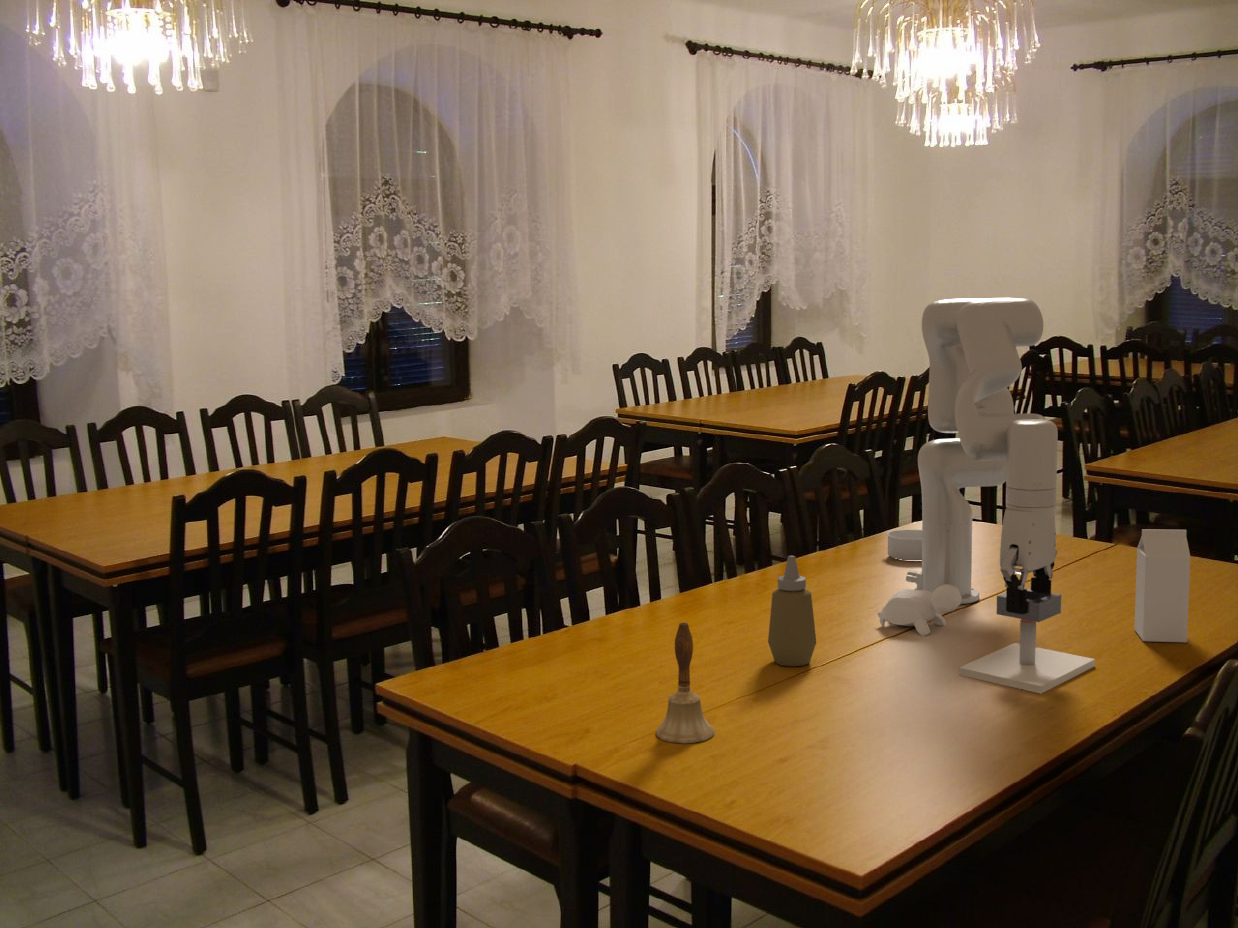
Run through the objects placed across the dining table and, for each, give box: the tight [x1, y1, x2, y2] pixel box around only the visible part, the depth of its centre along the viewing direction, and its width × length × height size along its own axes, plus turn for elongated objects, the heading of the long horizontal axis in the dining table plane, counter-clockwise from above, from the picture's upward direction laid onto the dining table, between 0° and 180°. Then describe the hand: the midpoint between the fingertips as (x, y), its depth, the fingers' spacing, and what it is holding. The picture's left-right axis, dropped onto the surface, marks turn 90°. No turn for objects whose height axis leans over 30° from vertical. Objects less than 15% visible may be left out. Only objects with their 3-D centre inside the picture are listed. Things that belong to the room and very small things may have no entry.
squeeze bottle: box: [767, 555, 817, 667], centre depth 205 cm, size 8×8×18 cm
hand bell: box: [655, 622, 716, 744], centre depth 174 cm, size 8×8×16 cm
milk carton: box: [1134, 528, 1191, 643], centre depth 213 cm, size 7×7×19 cm
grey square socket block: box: [996, 587, 1062, 623], centre depth 197 cm, size 7×7×3 cm
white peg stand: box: [958, 619, 1096, 695], centre depth 198 cm, size 14×18×10 cm
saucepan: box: [886, 528, 922, 560], centre depth 276 cm, size 12×20×6 cm, turn 43°
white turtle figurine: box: [877, 584, 961, 636], centre depth 223 cm, size 9×8×15 cm
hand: (1028, 607), depth 197 cm, fingers closed on grey square socket block, 7 cm apart
